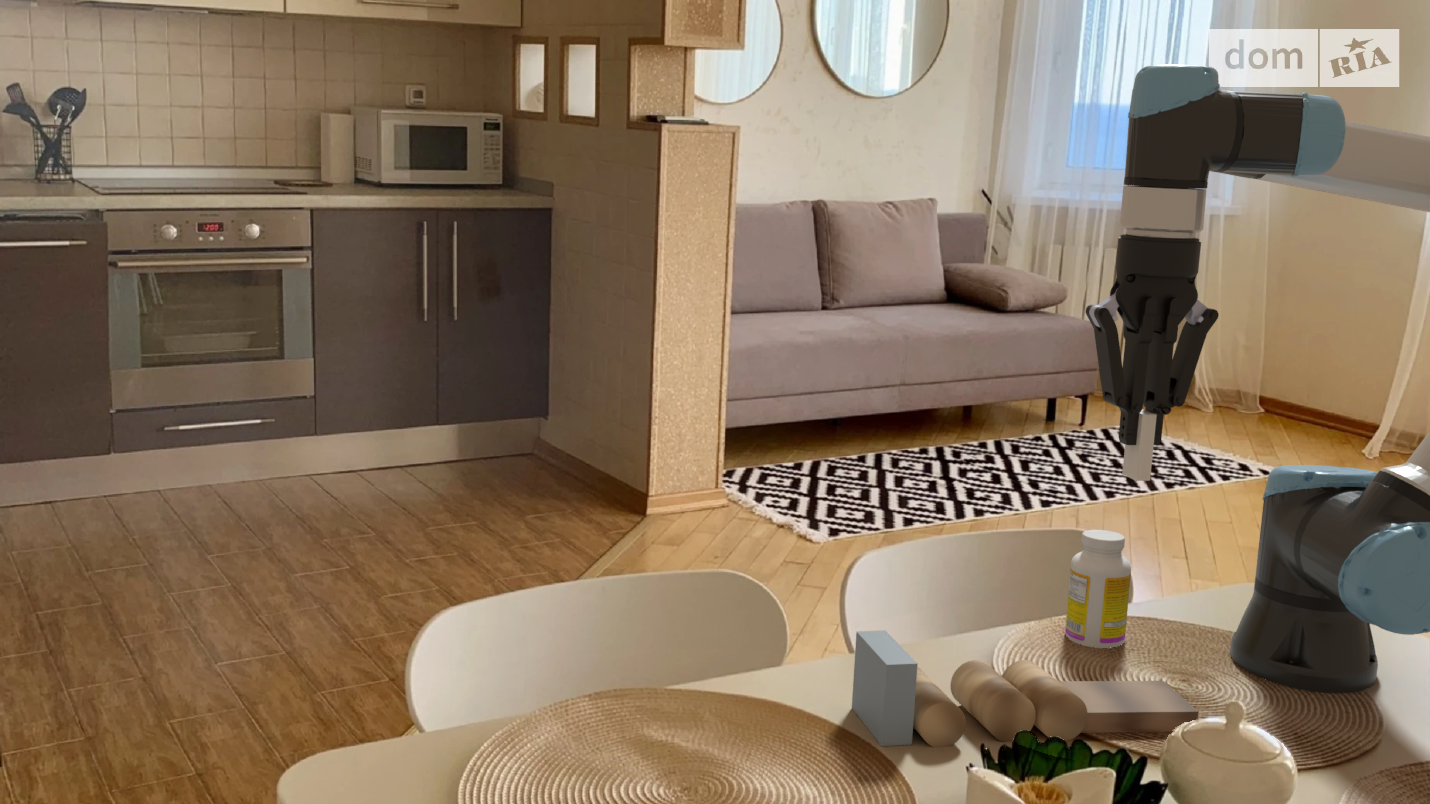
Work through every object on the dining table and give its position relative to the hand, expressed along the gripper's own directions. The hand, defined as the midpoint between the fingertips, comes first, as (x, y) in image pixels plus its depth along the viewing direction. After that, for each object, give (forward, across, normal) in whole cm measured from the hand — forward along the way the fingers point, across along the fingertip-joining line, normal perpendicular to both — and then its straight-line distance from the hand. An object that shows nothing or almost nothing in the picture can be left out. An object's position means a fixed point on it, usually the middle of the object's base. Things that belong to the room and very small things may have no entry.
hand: (1136, 477), depth 137 cm
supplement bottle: (+25, -8, -20) cm, 32 cm away
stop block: (+24, +24, 0) cm, 35 cm away
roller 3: (+20, +7, +1) cm, 21 cm away
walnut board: (+25, -1, 0) cm, 25 cm away
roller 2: (+22, +16, 0) cm, 27 cm away
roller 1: (+21, +18, 0) cm, 28 cm away
